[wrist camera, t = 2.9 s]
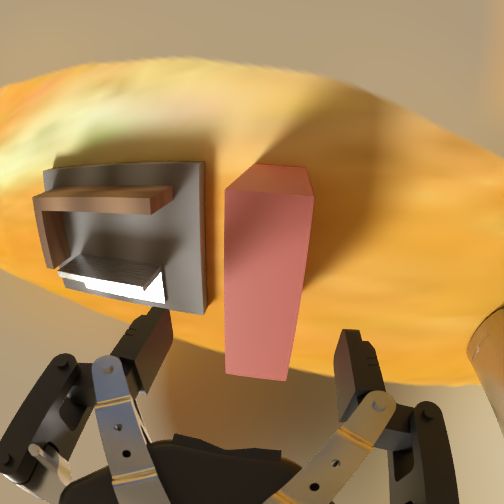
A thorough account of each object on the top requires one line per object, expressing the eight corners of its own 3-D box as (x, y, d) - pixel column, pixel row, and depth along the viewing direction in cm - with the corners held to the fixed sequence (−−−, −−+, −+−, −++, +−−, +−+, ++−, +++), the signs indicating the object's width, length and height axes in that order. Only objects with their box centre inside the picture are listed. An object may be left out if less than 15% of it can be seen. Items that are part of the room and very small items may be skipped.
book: (305, 167, 21) (314, 197, 12) (290, 298, 26) (285, 381, 17) (254, 163, 22) (224, 189, 13) (248, 294, 27) (225, 373, 18)
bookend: (161, 264, 25) (142, 287, 21) (166, 301, 26) (149, 326, 23) (80, 253, 26) (57, 270, 22) (88, 286, 28) (67, 305, 24)
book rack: (204, 161, 22) (179, 172, 17) (207, 306, 28) (191, 342, 23) (52, 168, 24) (16, 180, 19) (72, 281, 30) (45, 305, 25)
